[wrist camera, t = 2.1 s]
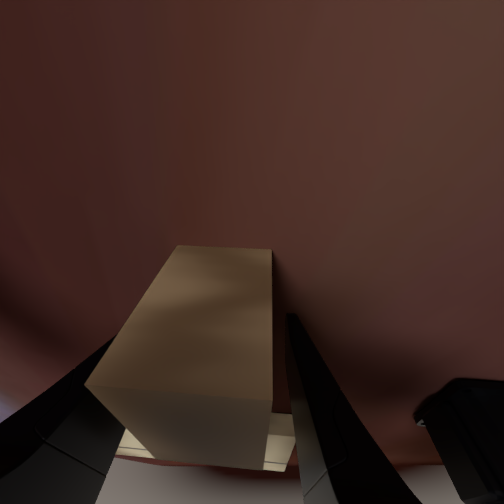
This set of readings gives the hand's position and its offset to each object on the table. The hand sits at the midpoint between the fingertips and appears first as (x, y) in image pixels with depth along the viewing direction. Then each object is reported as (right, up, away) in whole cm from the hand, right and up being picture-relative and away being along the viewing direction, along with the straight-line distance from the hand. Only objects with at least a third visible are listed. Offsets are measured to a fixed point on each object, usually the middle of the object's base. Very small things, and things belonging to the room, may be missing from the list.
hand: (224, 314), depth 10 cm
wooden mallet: (0, -3, +4) cm, 5 cm away
